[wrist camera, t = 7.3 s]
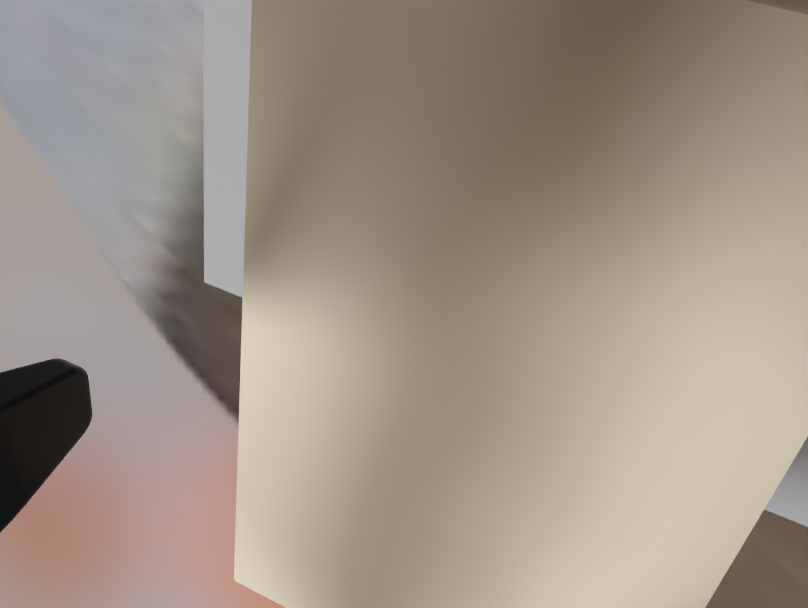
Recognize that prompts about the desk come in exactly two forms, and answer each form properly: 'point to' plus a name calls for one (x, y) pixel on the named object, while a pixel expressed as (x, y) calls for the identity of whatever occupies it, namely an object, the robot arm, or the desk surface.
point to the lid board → (519, 298)
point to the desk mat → (226, 187)
